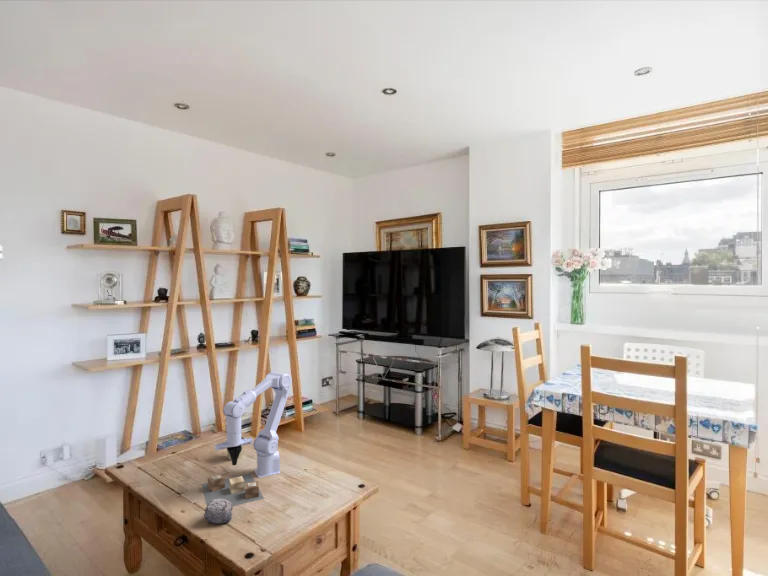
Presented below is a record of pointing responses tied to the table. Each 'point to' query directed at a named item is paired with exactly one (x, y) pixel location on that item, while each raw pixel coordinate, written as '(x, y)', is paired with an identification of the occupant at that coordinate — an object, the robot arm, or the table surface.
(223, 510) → the pumice stone
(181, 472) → the table surface
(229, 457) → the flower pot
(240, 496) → the slate mat
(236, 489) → the plain block
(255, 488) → the walnut block
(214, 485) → the walnut block
